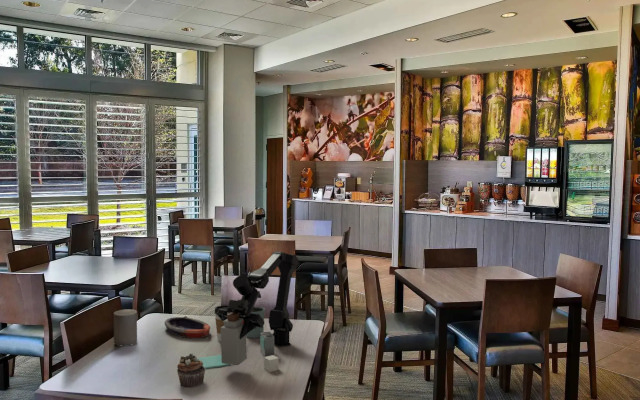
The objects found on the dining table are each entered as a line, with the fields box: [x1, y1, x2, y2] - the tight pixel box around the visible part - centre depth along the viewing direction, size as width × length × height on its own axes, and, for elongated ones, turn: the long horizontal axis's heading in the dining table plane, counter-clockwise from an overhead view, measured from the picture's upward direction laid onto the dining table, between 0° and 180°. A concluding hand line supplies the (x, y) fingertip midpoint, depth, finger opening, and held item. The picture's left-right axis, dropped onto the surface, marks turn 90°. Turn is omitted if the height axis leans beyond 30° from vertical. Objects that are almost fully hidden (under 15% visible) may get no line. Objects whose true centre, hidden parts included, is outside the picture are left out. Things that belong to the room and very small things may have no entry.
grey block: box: [263, 354, 280, 373], centre depth 196 cm, size 4×4×4 cm
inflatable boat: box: [164, 315, 211, 339], centre depth 241 cm, size 16×31×5 cm, turn 46°
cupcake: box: [177, 353, 206, 389], centre depth 183 cm, size 10×10×10 cm
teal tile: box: [197, 354, 232, 370], centre depth 203 cm, size 11×11×1 cm
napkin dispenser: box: [259, 331, 276, 357], centre depth 212 cm, size 4×7×8 cm, turn 21°
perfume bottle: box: [220, 312, 248, 366], centre depth 193 cm, size 7×7×18 cm
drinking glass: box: [246, 306, 266, 339], centre depth 237 cm, size 10×10×12 cm
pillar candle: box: [113, 308, 138, 346], centre depth 226 cm, size 10×10×15 cm
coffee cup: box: [214, 304, 233, 343], centre depth 230 cm, size 8×8×15 cm
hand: (231, 338), depth 192 cm, fingers closed on perfume bottle, 6 cm apart
